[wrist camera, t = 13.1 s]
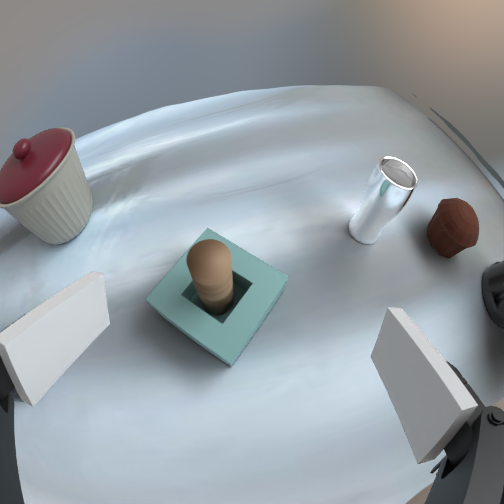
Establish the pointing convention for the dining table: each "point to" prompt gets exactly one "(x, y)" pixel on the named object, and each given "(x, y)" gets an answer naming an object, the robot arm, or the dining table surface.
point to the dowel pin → (212, 275)
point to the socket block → (237, 318)
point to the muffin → (453, 227)
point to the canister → (47, 186)
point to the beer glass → (382, 198)
